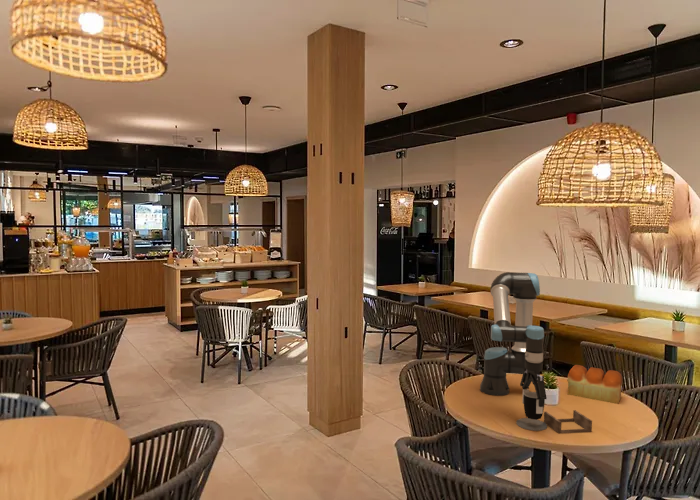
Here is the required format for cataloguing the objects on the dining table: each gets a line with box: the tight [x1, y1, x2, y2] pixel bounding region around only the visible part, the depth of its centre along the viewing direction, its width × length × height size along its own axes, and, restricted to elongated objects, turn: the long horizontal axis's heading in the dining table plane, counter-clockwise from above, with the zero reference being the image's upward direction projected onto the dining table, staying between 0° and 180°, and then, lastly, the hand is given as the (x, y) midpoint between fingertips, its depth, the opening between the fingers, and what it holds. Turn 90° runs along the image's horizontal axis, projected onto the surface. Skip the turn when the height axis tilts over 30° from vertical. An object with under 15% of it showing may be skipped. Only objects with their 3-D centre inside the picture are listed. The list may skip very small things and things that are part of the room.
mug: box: [523, 391, 546, 420], centre depth 234 cm, size 12×9×10 cm
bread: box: [566, 364, 624, 405], centre depth 274 cm, size 25×12×15 cm, turn 56°
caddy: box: [543, 409, 593, 434], centre depth 232 cm, size 13×16×5 cm
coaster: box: [515, 417, 548, 432], centre depth 234 cm, size 13×13×1 cm
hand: (532, 408), depth 234 cm, fingers closed on mug, 12 cm apart
